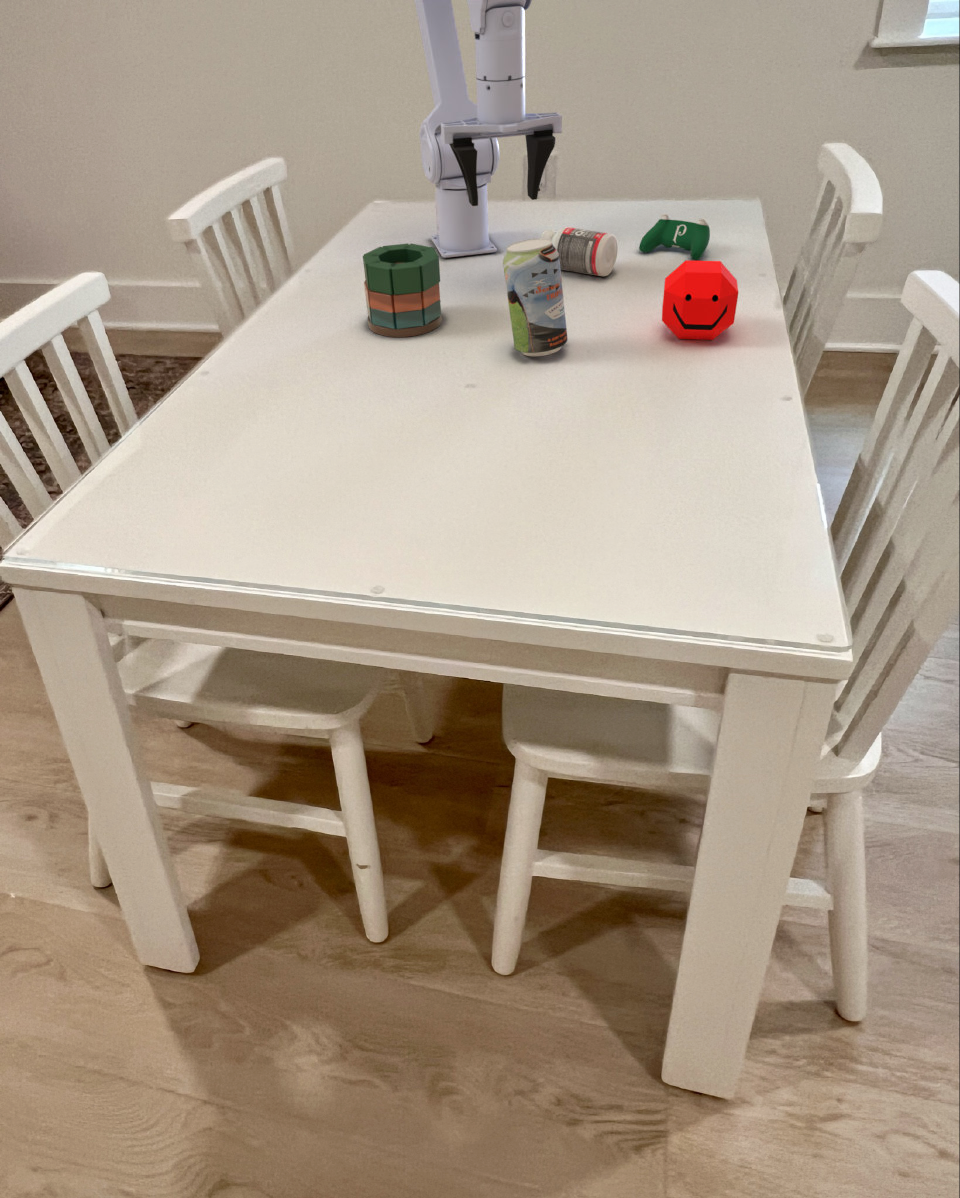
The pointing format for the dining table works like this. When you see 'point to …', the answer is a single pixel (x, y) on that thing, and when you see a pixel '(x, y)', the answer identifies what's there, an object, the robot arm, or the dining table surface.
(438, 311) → the ring stack
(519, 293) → the beverage can
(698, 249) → the gaming controller
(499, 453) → the dining table surface
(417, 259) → the green ring
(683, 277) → the ball
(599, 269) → the pill bottle
